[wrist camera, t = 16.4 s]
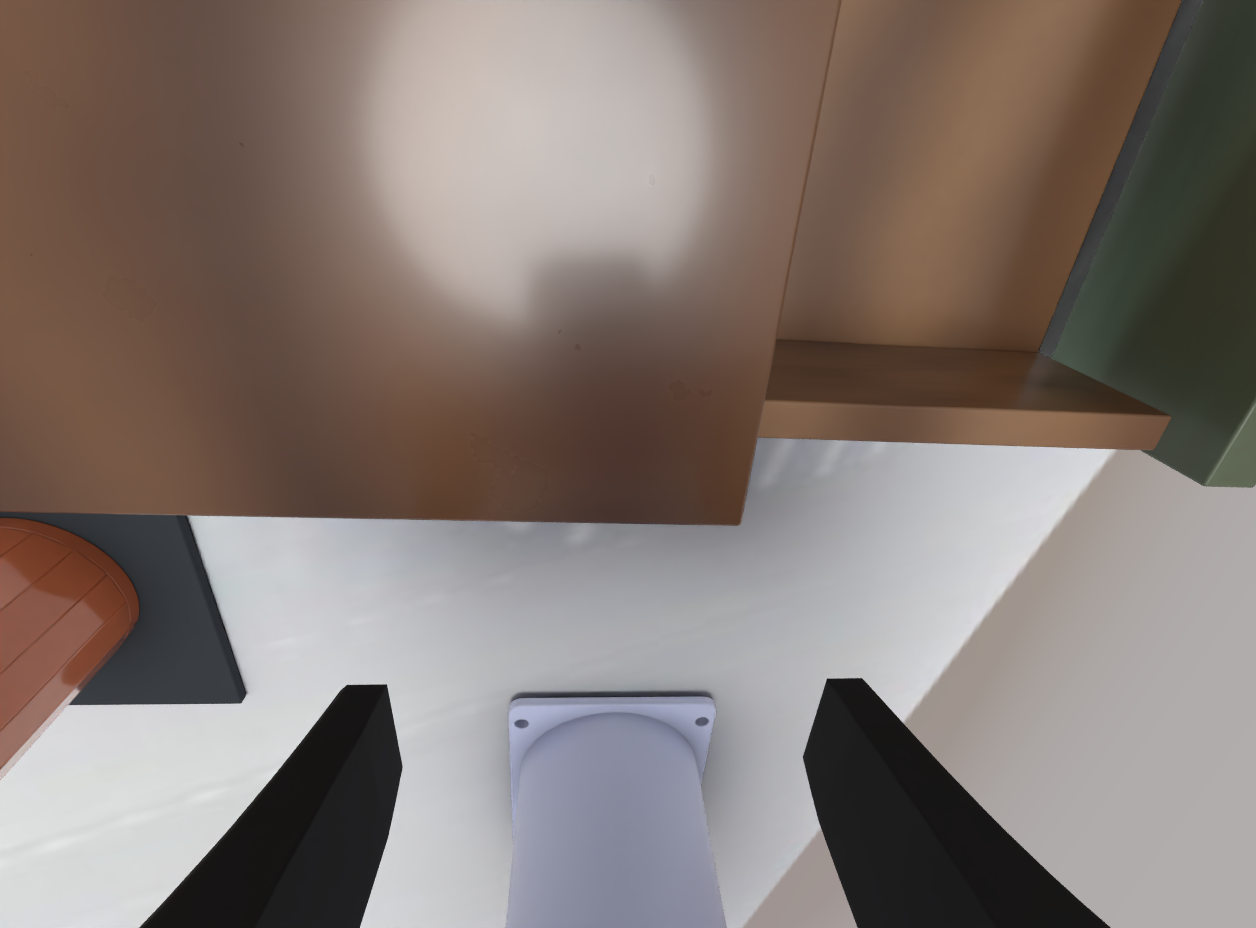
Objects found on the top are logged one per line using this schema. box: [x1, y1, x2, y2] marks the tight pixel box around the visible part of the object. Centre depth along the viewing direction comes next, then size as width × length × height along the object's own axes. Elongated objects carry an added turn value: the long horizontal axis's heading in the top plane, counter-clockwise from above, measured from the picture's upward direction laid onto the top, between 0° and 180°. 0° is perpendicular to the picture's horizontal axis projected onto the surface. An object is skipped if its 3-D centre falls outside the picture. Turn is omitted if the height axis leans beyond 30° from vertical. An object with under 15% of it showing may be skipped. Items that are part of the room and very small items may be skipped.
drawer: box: [758, 0, 1256, 488], centre depth 12 cm, size 15×11×5 cm
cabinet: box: [0, 0, 842, 526], centre depth 11 cm, size 15×13×7 cm
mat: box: [0, 512, 246, 705], centre depth 19 cm, size 10×10×1 cm
